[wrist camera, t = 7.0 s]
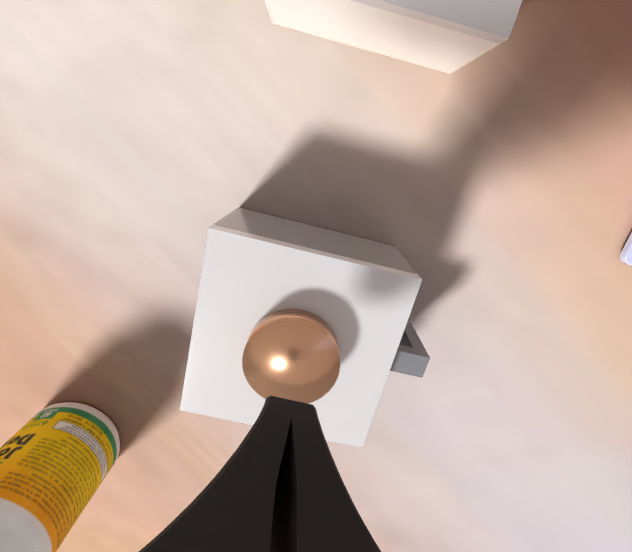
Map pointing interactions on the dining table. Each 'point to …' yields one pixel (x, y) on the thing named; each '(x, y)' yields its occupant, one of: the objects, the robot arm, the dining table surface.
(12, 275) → the dining table surface
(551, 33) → the dining table surface
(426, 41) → the press white
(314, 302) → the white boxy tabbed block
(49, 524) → the supplement bottle
